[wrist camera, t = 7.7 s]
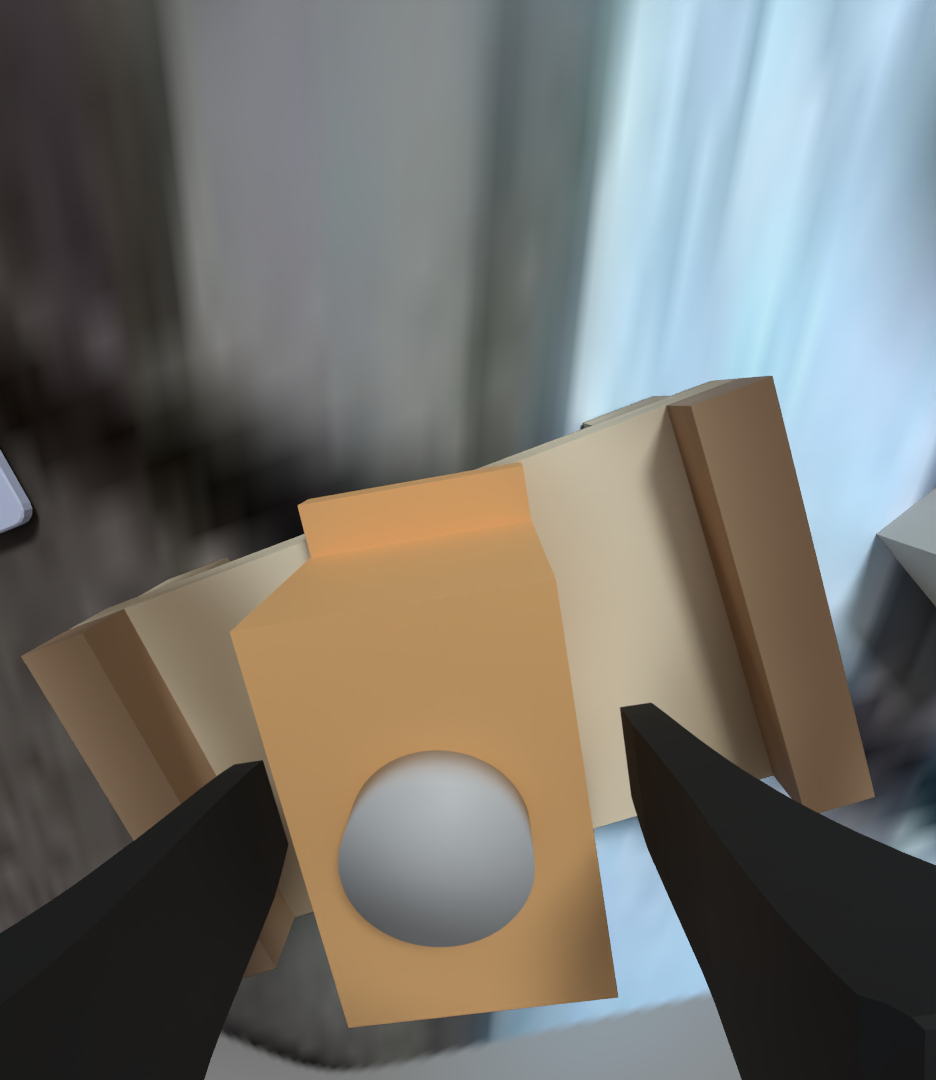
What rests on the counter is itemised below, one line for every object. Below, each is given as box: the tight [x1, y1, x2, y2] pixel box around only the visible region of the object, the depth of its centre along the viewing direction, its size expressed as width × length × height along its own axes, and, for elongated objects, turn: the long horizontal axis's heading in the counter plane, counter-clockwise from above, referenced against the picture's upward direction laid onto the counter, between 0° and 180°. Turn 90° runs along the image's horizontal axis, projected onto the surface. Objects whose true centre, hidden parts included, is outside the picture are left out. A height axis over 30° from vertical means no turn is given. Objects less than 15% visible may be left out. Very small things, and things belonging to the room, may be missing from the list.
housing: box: [230, 462, 618, 1028], centre depth 11 cm, size 5×10×6 cm, turn 10°
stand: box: [21, 376, 875, 978], centre depth 15 cm, size 17×10×4 cm, turn 111°
